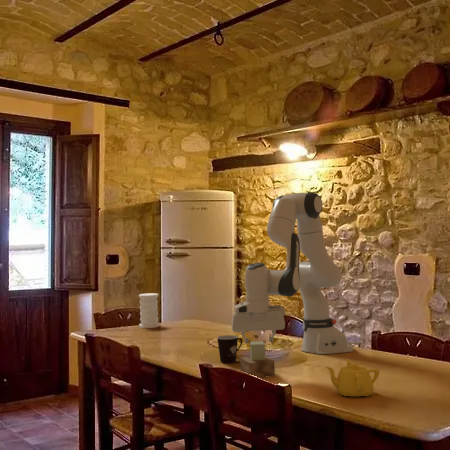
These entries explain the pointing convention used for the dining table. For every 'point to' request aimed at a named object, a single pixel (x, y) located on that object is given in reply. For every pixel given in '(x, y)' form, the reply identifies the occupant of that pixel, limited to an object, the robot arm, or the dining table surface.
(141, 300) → the decorative container
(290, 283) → the robot arm
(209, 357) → the dining table surface
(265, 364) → the walnut box
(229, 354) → the coffee mug
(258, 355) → the green cube
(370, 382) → the teapot
